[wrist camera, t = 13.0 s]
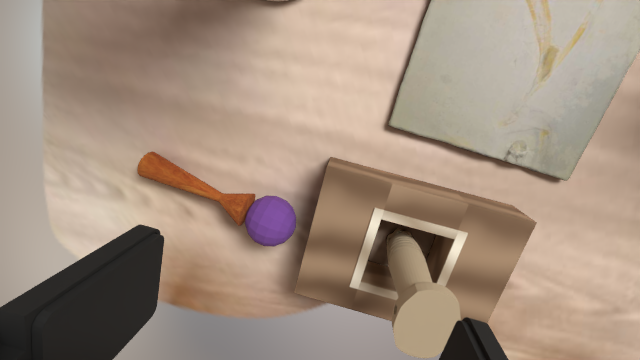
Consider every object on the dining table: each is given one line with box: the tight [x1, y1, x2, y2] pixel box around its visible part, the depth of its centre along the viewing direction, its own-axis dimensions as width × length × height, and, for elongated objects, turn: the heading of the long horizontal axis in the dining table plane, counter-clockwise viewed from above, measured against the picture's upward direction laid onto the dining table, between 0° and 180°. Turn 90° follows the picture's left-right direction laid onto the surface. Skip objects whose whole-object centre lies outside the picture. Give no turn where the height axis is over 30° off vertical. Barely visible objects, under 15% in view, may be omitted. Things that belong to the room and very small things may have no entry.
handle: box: [387, 229, 461, 358], centre depth 32 cm, size 5×6×15 cm
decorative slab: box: [388, 0, 640, 181], centre depth 31 cm, size 27×21×2 cm
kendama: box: [138, 152, 296, 246], centre depth 38 cm, size 6×6×20 cm
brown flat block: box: [294, 157, 537, 323], centre depth 36 cm, size 16×22×5 cm
